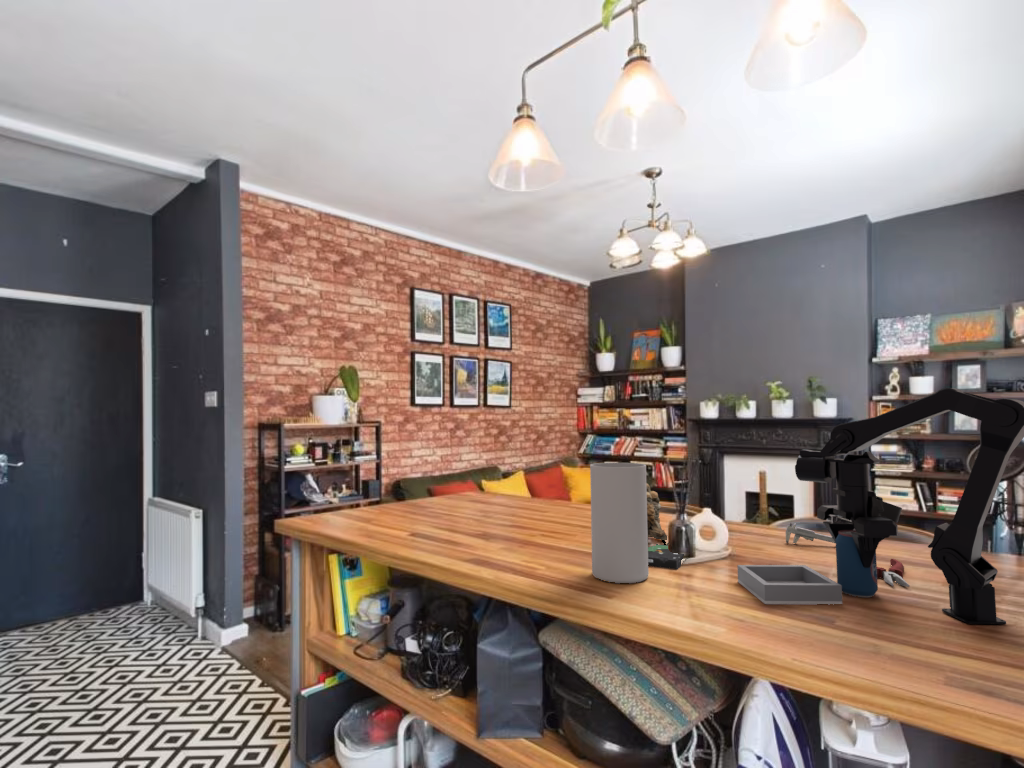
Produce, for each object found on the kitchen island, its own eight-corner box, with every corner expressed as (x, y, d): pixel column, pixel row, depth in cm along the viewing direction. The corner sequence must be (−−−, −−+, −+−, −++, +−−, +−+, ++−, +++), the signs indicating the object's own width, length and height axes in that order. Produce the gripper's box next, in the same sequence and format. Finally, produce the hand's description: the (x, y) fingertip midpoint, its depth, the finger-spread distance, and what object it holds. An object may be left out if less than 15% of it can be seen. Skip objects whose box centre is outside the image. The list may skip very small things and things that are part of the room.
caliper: (786, 544, 156) (785, 522, 156) (785, 544, 157) (784, 521, 157) (871, 550, 148) (869, 526, 149) (870, 549, 149) (868, 525, 150)
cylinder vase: (604, 566, 134) (602, 462, 135) (655, 573, 127) (652, 463, 129) (583, 579, 123) (581, 466, 125) (638, 588, 117) (635, 468, 118)
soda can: (884, 599, 108) (881, 536, 109) (845, 597, 109) (843, 535, 110) (868, 588, 115) (865, 529, 116) (832, 587, 116) (829, 528, 117)
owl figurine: (664, 551, 149) (662, 487, 150) (621, 548, 154) (619, 485, 154) (672, 537, 166) (670, 479, 167) (632, 534, 170) (631, 478, 171)
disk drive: (678, 572, 131) (690, 557, 144) (678, 560, 131) (689, 546, 144) (635, 567, 135) (650, 552, 148) (635, 555, 135) (649, 542, 149)
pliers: (869, 589, 116) (869, 576, 116) (842, 565, 135) (842, 554, 135) (934, 594, 113) (933, 581, 113) (897, 568, 132) (896, 557, 132)
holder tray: (842, 604, 105) (841, 585, 106) (765, 604, 106) (764, 584, 106) (805, 582, 120) (805, 565, 120) (738, 581, 120) (737, 565, 121)
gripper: (925, 490, 104) (929, 575, 103) (866, 479, 122) (869, 551, 121) (863, 491, 104) (867, 575, 103) (814, 479, 123) (817, 551, 122)
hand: (856, 562), depth 113 cm, fingers closed on soda can, 7 cm apart
